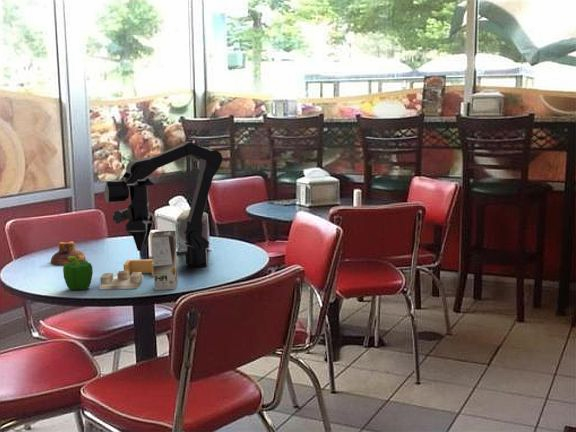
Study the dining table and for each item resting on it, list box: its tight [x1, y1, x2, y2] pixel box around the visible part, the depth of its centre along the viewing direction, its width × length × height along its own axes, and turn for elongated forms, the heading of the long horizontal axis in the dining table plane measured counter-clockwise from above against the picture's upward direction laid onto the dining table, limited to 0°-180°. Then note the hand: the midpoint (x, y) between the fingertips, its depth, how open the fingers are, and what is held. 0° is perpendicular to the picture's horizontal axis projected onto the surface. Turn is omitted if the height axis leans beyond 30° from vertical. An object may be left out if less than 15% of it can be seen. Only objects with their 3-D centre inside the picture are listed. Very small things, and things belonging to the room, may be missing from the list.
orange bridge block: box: [122, 258, 154, 277], centre depth 228 cm, size 10×7×4 cm, turn 92°
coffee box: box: [151, 230, 179, 291], centre depth 212 cm, size 9×6×16 cm
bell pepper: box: [62, 256, 94, 291], centre depth 211 cm, size 8×8×10 cm
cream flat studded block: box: [99, 270, 144, 290], centre depth 216 cm, size 11×12×3 cm
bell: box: [50, 240, 87, 266], centre depth 248 cm, size 12×12×7 cm
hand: (141, 247), depth 229 cm, fingers open, 9 cm apart
